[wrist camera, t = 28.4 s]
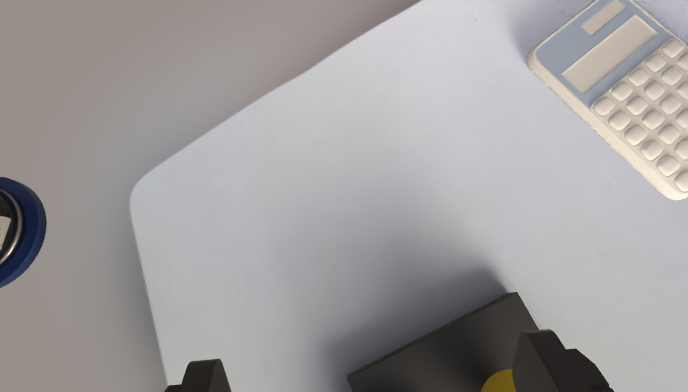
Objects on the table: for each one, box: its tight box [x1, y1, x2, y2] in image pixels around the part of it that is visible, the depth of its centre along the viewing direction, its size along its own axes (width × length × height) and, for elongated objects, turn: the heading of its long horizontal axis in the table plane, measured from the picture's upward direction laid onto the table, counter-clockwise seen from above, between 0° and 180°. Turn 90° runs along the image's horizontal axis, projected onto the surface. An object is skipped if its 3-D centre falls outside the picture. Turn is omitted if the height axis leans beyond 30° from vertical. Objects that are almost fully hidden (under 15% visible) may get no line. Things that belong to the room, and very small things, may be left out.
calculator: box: [527, 0, 688, 200], centre depth 41 cm, size 13×20×2 cm, turn 39°
